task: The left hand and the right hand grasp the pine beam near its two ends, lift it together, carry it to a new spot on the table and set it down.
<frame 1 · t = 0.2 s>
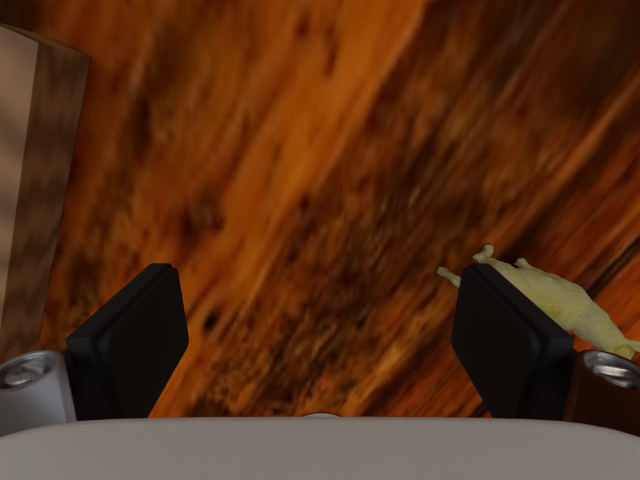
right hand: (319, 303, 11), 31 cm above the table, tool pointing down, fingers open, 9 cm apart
toy: (501, 271, 45), on the table
beam: (32, 276, 45), on the table
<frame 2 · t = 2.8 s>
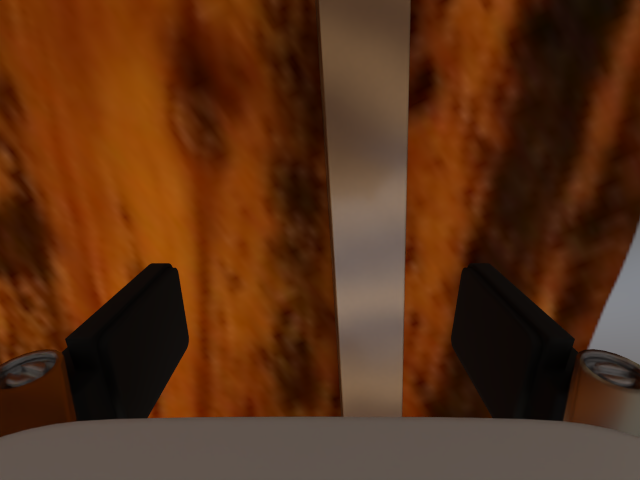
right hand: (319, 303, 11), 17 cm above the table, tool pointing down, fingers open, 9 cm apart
beam: (360, 358, 33), on the table
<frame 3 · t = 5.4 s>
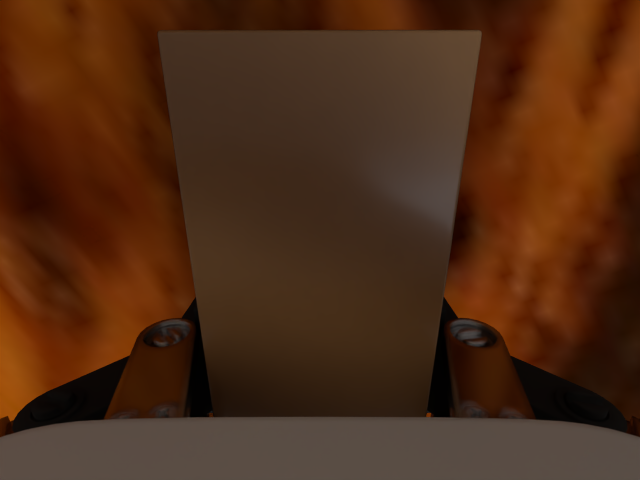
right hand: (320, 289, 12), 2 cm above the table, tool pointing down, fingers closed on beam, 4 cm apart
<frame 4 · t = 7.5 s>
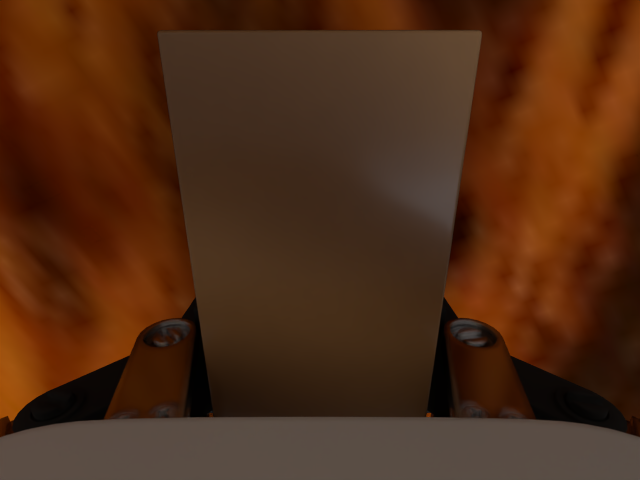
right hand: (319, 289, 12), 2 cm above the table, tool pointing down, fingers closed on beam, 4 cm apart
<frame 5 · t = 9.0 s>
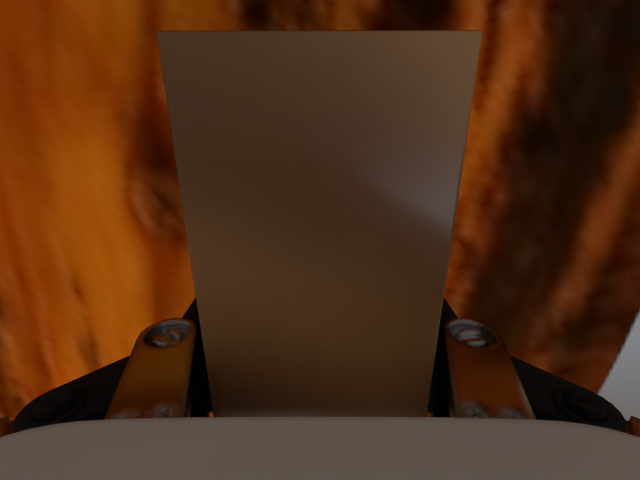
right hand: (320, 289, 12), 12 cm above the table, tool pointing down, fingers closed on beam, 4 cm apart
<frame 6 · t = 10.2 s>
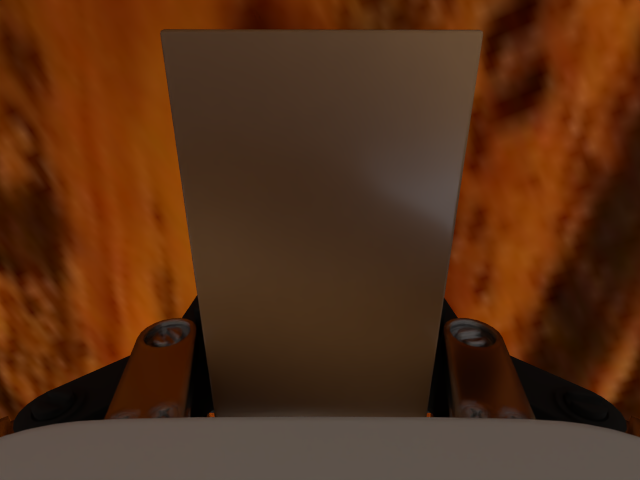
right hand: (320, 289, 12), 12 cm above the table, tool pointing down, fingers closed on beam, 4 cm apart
when the left hand's fingers open (4 cm above the table, at t = 13.0 s): beam drops 2 cm, on the table.
when the right hand's fingers open (4 cm above the table, at t = 13.0 s): beam drops 2 cm, on the table.
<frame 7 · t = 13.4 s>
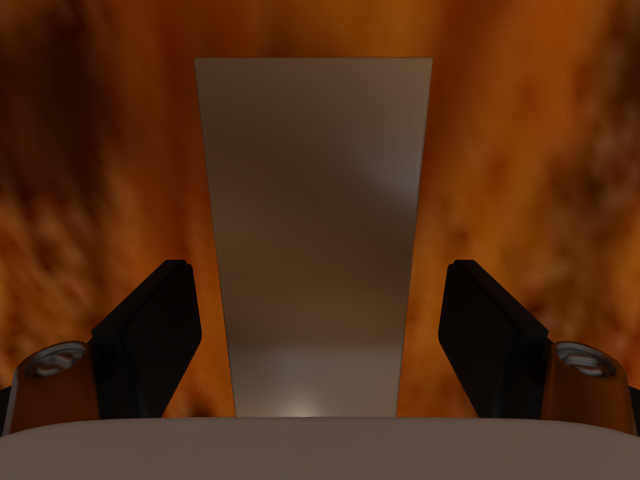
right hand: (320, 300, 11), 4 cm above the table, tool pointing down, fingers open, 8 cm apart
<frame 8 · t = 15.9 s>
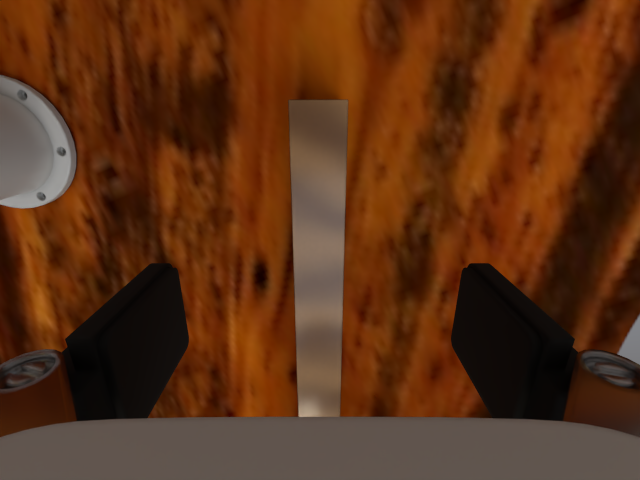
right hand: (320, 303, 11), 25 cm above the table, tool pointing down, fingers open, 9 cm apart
beam: (319, 355, 43), on the table
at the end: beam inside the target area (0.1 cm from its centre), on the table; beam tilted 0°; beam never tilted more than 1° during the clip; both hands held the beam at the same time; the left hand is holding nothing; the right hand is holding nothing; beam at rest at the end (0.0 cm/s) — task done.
